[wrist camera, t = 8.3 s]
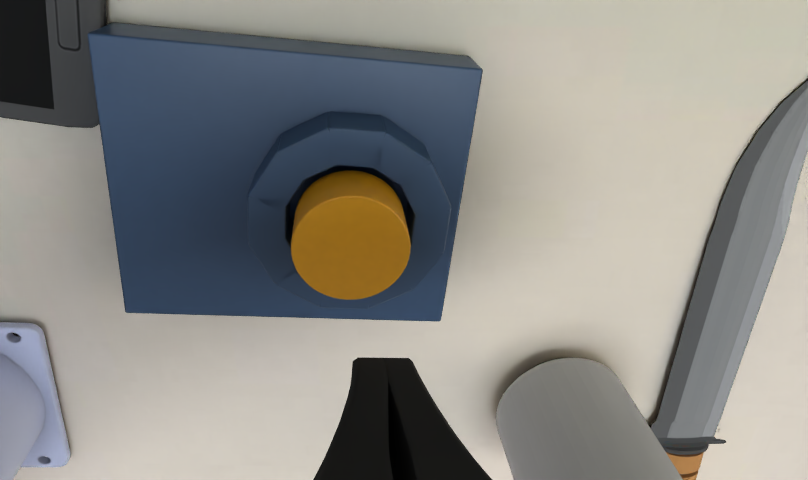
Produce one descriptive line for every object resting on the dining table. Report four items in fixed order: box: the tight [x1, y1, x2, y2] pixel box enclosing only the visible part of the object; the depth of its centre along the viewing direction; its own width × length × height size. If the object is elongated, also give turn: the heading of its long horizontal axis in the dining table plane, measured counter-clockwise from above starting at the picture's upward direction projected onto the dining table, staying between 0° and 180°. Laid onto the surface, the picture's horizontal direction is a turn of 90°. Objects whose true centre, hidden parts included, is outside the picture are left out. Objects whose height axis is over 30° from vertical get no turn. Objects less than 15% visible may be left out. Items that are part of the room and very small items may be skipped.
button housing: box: [88, 22, 483, 321], centre depth 20 cm, size 12×10×4 cm
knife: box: [651, 80, 808, 480], centre depth 29 cm, size 30×1×5 cm
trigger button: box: [291, 170, 411, 300], centre depth 18 cm, size 4×4×2 cm
